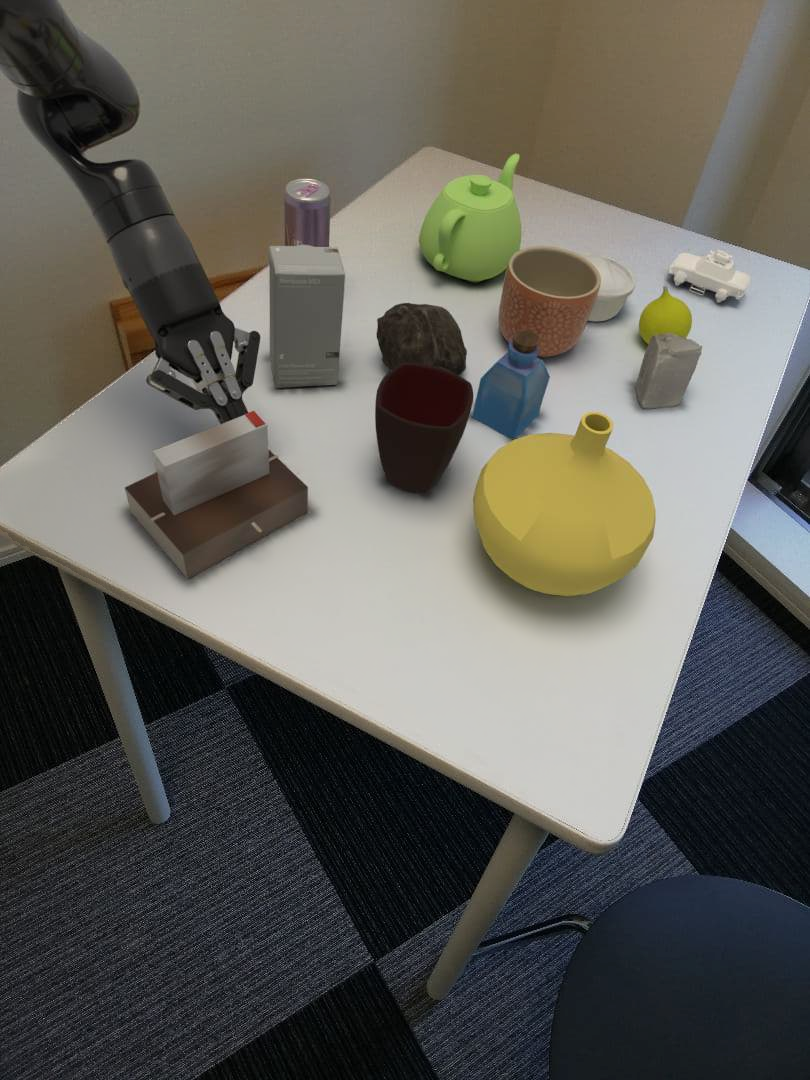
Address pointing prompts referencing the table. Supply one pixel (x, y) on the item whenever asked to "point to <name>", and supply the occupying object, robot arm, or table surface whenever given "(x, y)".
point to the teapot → (473, 226)
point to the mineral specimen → (666, 370)
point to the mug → (420, 423)
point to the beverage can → (307, 213)
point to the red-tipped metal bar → (212, 462)
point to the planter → (548, 296)
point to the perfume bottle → (513, 387)
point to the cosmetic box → (305, 314)
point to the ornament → (665, 317)
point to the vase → (564, 510)
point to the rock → (421, 337)
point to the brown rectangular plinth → (219, 517)
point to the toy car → (711, 274)
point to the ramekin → (610, 286)
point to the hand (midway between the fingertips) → (244, 437)
